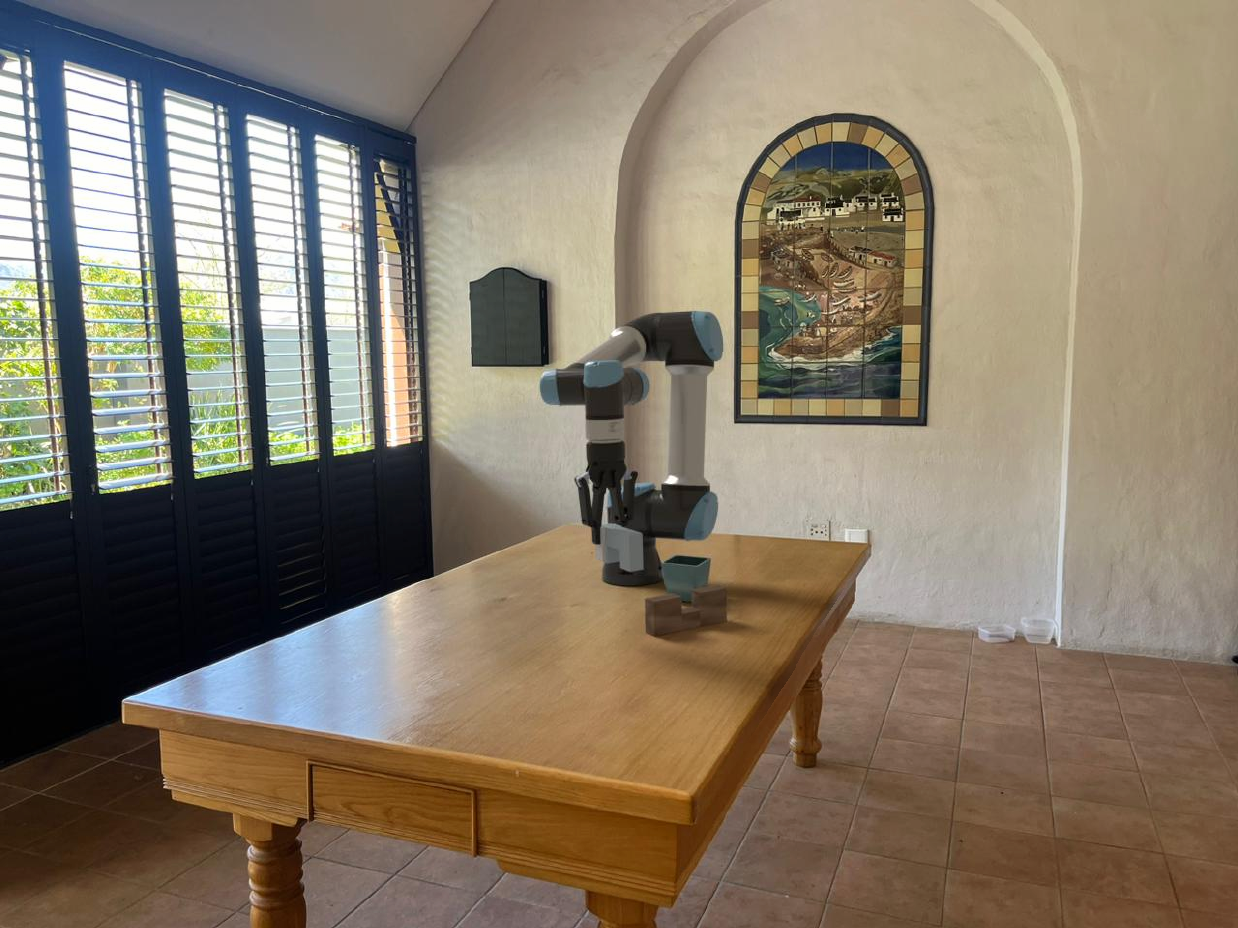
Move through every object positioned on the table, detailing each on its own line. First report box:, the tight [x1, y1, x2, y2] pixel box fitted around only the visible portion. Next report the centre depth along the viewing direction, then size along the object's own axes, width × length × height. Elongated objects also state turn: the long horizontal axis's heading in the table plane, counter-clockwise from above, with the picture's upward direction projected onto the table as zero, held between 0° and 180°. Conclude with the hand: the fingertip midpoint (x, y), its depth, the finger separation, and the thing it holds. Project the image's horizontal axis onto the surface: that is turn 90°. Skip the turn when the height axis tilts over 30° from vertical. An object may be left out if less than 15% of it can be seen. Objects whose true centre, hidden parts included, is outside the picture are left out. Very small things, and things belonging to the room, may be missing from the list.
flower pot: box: [661, 554, 712, 603], centre depth 210 cm, size 9×9×9 cm
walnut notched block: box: [644, 584, 728, 637], centre depth 190 cm, size 3×18×7 cm, turn 121°
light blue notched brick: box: [601, 523, 644, 572], centre depth 181 cm, size 12×3×7 cm, turn 31°
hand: (609, 558), depth 185 cm, fingers closed on light blue notched brick, 3 cm apart
